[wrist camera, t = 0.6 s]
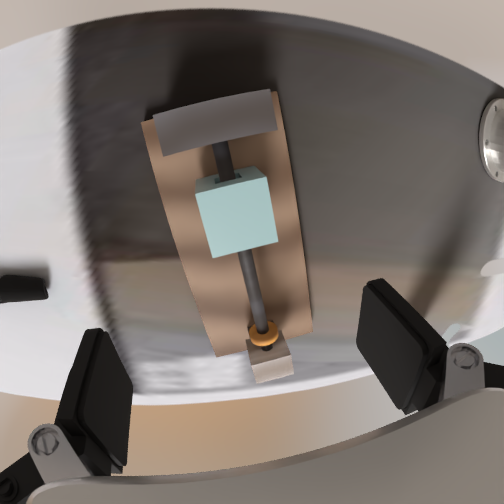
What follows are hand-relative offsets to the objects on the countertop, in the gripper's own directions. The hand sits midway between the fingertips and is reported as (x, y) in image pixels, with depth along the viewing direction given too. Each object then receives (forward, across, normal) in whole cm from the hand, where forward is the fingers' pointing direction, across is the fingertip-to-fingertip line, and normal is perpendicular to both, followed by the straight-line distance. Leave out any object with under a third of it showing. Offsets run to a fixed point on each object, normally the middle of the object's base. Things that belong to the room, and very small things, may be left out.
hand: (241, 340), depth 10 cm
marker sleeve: (+17, -2, 0) cm, 17 cm away
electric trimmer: (+22, +28, +6) cm, 35 cm away
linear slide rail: (+20, -2, +5) cm, 21 cm away
